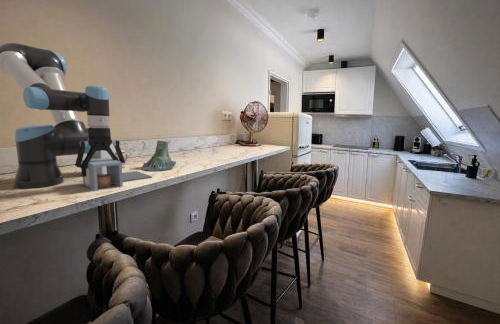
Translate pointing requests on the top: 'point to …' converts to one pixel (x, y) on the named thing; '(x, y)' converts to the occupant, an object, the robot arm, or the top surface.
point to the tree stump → (159, 159)
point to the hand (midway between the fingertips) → (102, 182)
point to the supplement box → (102, 155)
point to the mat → (134, 176)
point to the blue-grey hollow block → (112, 168)
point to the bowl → (104, 180)
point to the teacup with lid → (123, 156)
